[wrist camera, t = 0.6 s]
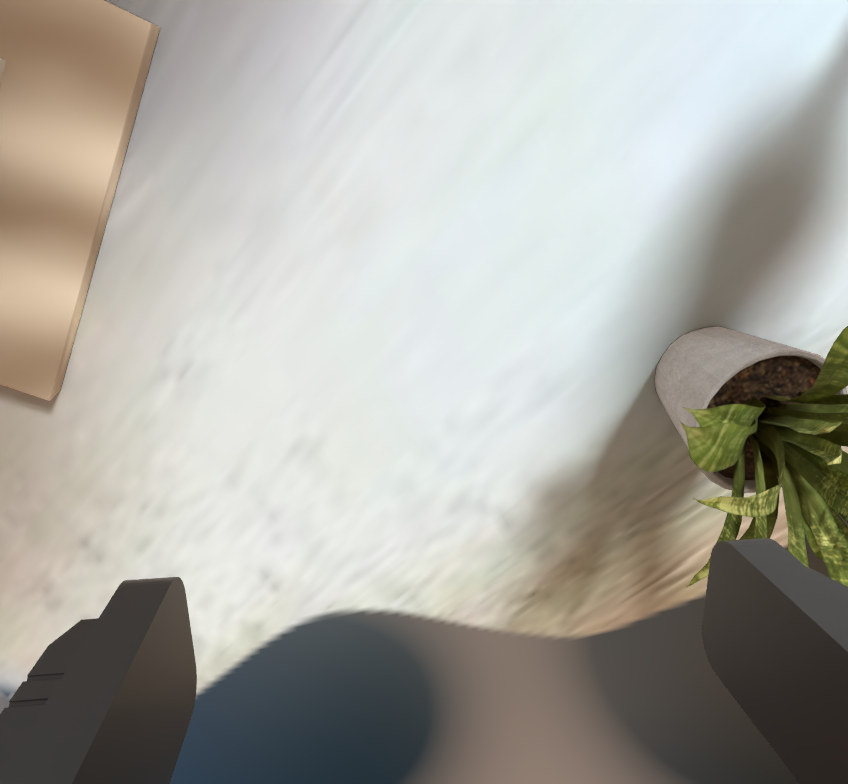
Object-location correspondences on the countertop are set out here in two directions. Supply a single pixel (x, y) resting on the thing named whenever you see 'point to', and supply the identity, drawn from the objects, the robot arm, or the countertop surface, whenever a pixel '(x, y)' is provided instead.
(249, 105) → the countertop surface
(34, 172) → the tower base
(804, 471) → the house plant
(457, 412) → the countertop surface
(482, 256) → the countertop surface
